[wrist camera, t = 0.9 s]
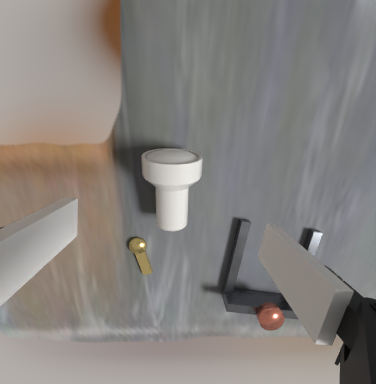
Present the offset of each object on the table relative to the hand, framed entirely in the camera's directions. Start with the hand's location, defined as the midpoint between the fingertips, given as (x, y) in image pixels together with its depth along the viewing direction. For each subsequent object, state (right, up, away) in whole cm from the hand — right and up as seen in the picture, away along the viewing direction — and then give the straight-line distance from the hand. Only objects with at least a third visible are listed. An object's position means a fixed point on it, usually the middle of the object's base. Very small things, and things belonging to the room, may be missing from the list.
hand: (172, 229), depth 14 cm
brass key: (-7, -9, +21) cm, 24 cm away
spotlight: (-1, +4, +18) cm, 19 cm away
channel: (+15, -11, +22) cm, 29 cm away
